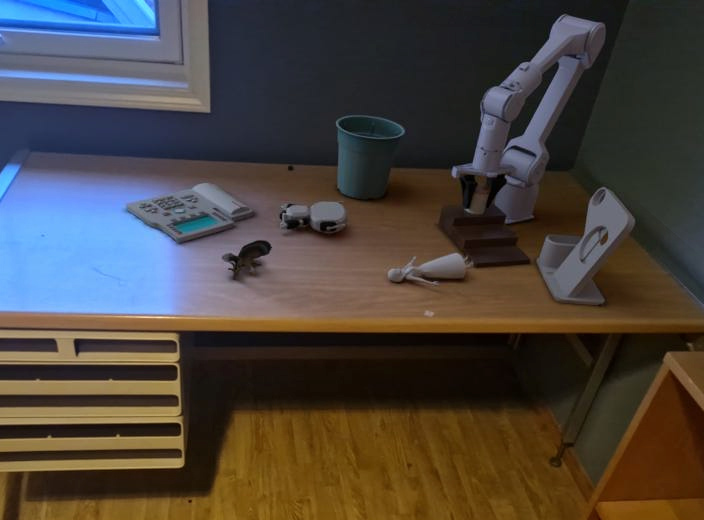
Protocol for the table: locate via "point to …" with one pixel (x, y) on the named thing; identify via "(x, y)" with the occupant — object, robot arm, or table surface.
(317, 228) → the robot toy
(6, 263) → the table surface
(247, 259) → the brown animal figurine
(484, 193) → the jar
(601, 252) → the phone holder
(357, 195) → the flower pot
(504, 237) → the step shelf
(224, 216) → the office telephone
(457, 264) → the woman figurine
